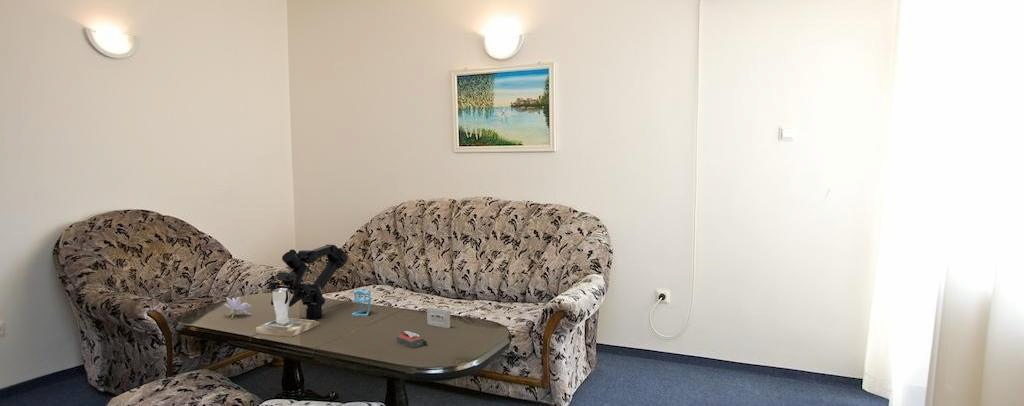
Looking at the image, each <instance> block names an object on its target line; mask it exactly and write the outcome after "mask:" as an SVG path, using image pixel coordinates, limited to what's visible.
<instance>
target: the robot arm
mask: <svg viewBox="0 0 1024 406" xmlns="http://www.w3.org/2000/svg"><path fill="white" fill-rule="evenodd" d="M325 256H326V258H327V264H326V266H325V267H324V269H323V270H322V271H321V273H320V274H319V276H318V277H317V278H316V279H315V281H314V282H313V284H312V283H307V284H306V283H304V280H303V278H304V276H305V275H306V273H310V272H311V270H310V266H309V265H307V264H310V265H311V264H313V263H315V262H316V261H317V260H318V259H319V258H322V257H325ZM348 259H349V257H348V255H347V253H346V252H344V250H342V249H340V248H339V247H338V246H337V245H335V244H325V245H324V246H320V247H317V248H314V249H308V250H307V249H304V250H299V251H298V252H296V250H295V249H289V251H287V252H285V253H284V254H282V257H281V260H282V262H284V264H285V265H286V266H287V267H288V268H289V269H290V270H291V271H289V272H280V271H279V272H278V274H277V278H276V281H270V282H269V283H268V285H267V287H268V288H269V290H270V291H271V296H272V295H273V290H274V289H278V288H288V289H289V292H290V291H292V292H293V295H292V297H291V298H290V303H289V307H290V308H292V307H293V305H296V304H297V302H299V301H301V302H302V304H303V306H306V307H305V309H304V312H305V314H304V315H305V318H306V320H317V319H323V318H324V316H323V308H322V306H324V305H325V303H326V302H325V301H326V299H325V297H324V296H323V290H324V288H325V287H326V285H327V284H328V282H329V281H330V280H331V278H332V277H333V276H334V275H335V272H337V270H339V269H341V268H343V267H344V265H346V264H347V262H348ZM279 281H281V283H280V282H279ZM282 284H283V285H282ZM270 304H271V306H273V298H272V297H271V301H270Z"/></svg>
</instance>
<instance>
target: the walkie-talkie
mask: <svg viewBox="0 0 1024 406" xmlns="http://www.w3.org/2000/svg"><path fill="white" fill-rule="evenodd" d="M396 343H398V344H401V345H403V346H405V347H408V348H410V349H416V348H419V347H421V346H425V345H427V344H428V341H426V340H425V338H424V337H421V336H420V334H418V333H415V332H412V331H409V330H401V331H400V334H398V335H396Z"/></svg>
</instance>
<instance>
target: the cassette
mask: <svg viewBox="0 0 1024 406" xmlns="http://www.w3.org/2000/svg"><path fill="white" fill-rule="evenodd" d="M426 314H427V315H426V316H427V317H426V318H427V323H426V324H427V325H429V326H435V327H440V328H444V329H445V328H447V329H450V328H451V310H450V309H445V308H444V309H443V308H438V307H433V306H432V307H431V306H428V307H426ZM438 316H439V317H438Z"/></svg>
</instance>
